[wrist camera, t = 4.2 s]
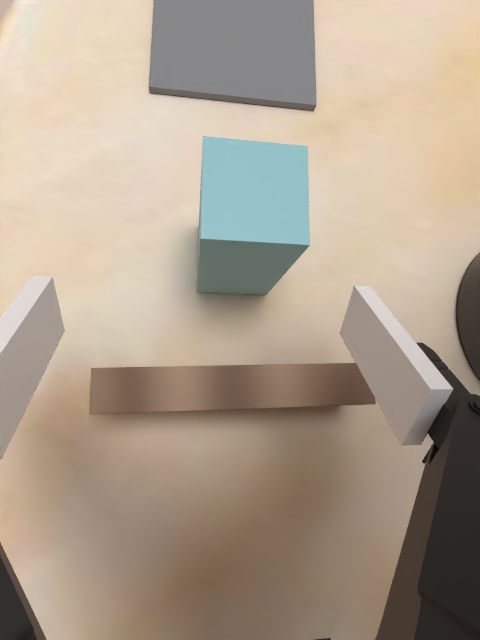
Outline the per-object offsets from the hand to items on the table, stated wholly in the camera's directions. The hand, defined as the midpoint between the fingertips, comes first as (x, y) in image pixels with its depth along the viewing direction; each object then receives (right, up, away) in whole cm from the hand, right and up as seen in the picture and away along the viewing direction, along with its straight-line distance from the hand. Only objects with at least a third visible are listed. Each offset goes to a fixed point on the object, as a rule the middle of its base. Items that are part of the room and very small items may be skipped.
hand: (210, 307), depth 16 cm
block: (+1, +4, +10) cm, 11 cm away
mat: (+1, +26, +14) cm, 29 cm away
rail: (+1, -5, +9) cm, 10 cm away
